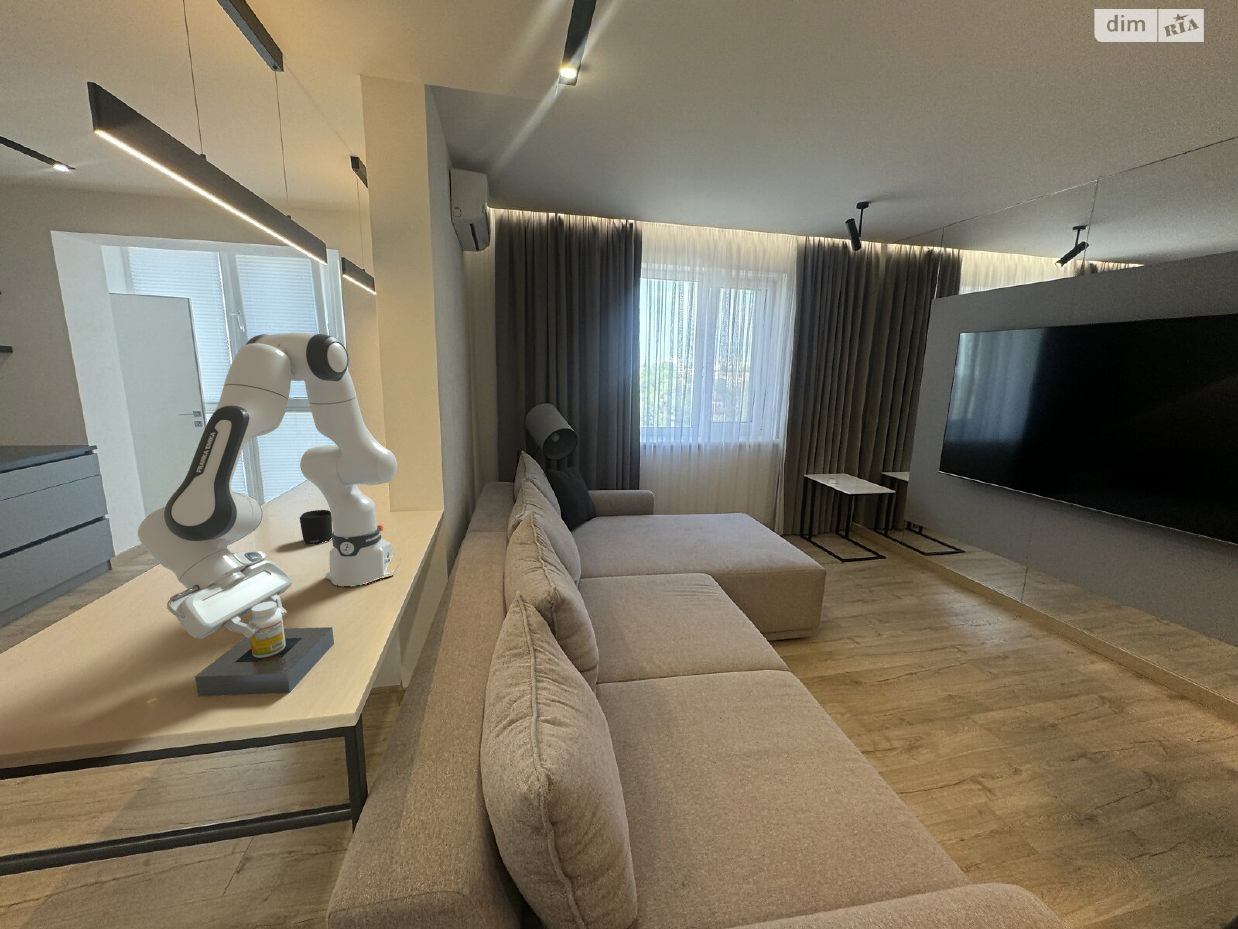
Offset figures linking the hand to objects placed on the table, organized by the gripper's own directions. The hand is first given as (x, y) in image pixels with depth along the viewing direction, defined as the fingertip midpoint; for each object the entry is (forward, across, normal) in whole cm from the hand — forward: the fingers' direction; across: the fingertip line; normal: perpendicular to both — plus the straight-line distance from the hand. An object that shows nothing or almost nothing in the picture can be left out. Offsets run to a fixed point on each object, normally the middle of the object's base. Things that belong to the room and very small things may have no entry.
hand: (268, 625), depth 91 cm
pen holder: (-24, +68, +37) cm, 81 cm away
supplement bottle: (+4, 0, +5) cm, 6 cm away
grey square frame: (+6, 0, +7) cm, 10 cm away
